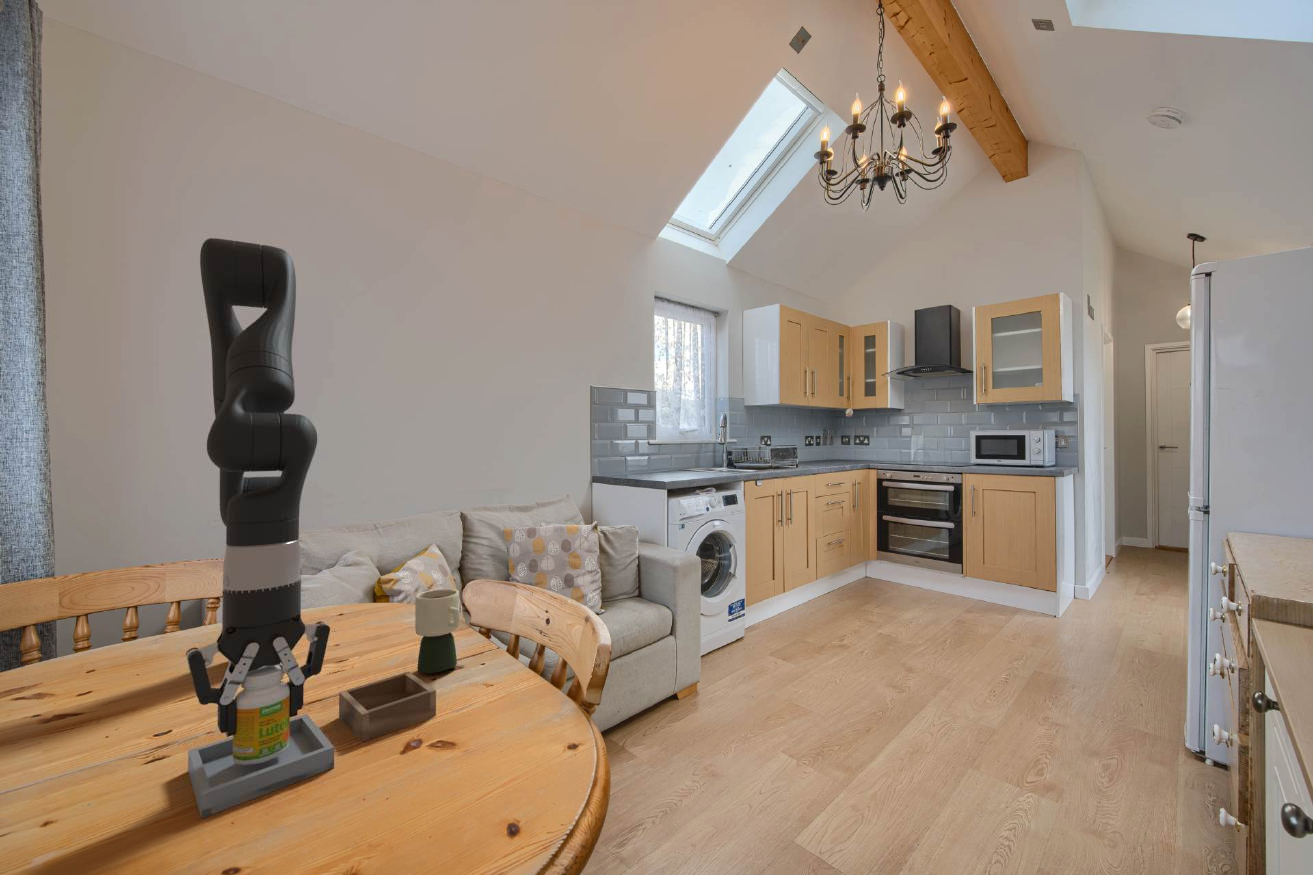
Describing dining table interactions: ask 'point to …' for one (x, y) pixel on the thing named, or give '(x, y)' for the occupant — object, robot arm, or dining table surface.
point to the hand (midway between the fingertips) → (261, 723)
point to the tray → (256, 768)
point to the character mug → (437, 628)
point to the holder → (386, 705)
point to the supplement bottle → (261, 716)
